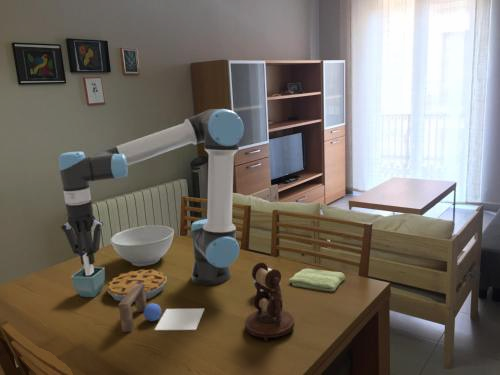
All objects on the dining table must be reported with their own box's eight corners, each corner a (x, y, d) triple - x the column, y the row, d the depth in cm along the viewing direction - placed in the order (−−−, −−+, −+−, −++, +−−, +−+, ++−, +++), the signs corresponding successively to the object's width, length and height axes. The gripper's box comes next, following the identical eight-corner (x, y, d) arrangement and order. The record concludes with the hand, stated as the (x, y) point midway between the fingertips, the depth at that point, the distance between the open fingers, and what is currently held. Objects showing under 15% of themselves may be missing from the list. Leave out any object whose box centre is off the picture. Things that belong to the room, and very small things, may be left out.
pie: (119, 279, 175) (117, 268, 174) (173, 276, 174) (171, 265, 173) (99, 305, 154) (97, 292, 153) (160, 302, 153) (158, 289, 152)
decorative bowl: (129, 250, 208) (126, 225, 205) (183, 249, 204) (181, 224, 201) (103, 273, 182) (99, 246, 180) (165, 273, 178) (161, 244, 175)
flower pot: (95, 300, 158) (92, 277, 156) (74, 299, 160) (70, 276, 158) (108, 289, 166) (105, 267, 164) (87, 288, 168) (84, 267, 166)
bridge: (147, 308, 149) (144, 283, 147) (131, 331, 135) (127, 304, 133) (138, 308, 149) (135, 283, 147) (122, 331, 135) (118, 304, 133)
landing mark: (204, 308, 146) (204, 308, 146) (195, 329, 133) (195, 329, 133) (166, 309, 147) (166, 309, 147) (154, 330, 135) (154, 329, 135)
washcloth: (302, 272, 170) (301, 264, 170) (346, 279, 161) (346, 271, 161) (287, 286, 159) (287, 278, 159) (334, 294, 150) (333, 286, 150)
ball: (151, 317, 144) (166, 312, 143) (145, 326, 139) (161, 321, 138) (144, 302, 143) (159, 298, 142) (138, 311, 138) (154, 306, 137)
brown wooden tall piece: (304, 330, 129) (301, 266, 125) (263, 348, 121) (258, 281, 117) (275, 311, 141) (271, 252, 137) (236, 326, 133) (230, 265, 129)
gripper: (52, 206, 132) (64, 279, 137) (93, 204, 130) (104, 278, 136) (64, 200, 139) (76, 269, 144) (103, 198, 138) (114, 268, 143)
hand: (89, 273), depth 140 cm, fingers closed
